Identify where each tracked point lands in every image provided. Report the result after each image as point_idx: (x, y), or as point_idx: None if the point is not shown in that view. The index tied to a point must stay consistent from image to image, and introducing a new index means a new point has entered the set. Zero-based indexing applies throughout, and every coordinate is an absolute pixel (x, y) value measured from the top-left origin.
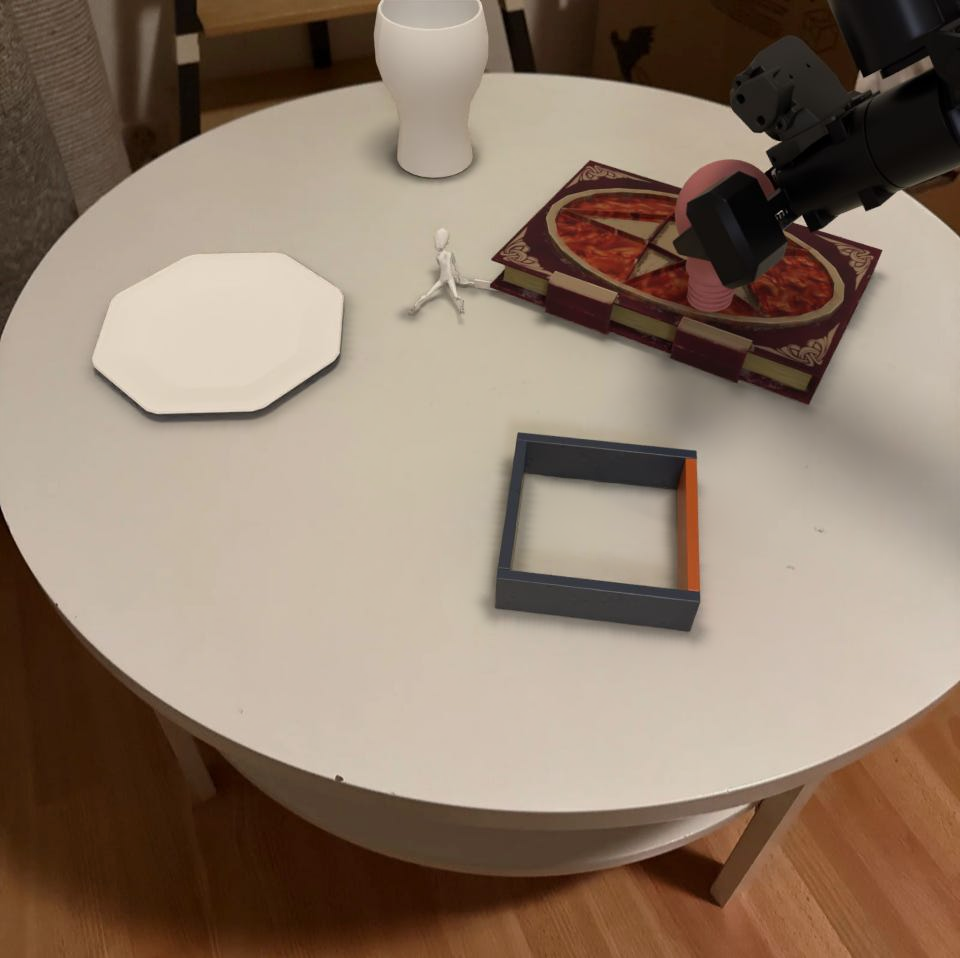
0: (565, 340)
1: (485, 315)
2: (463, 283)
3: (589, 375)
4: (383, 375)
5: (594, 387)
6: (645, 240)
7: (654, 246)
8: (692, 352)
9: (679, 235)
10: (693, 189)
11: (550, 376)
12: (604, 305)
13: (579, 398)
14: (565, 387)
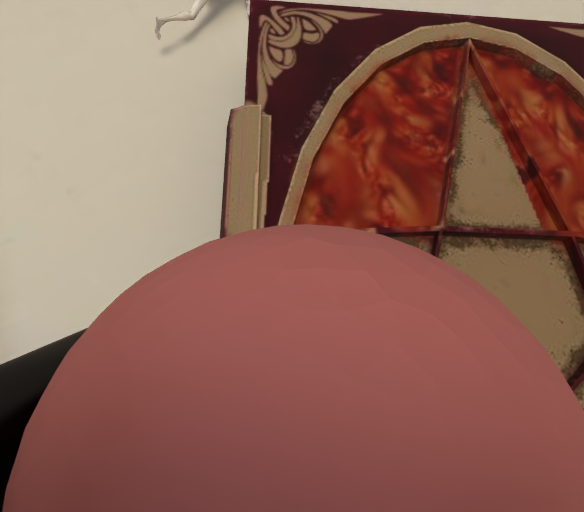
0: (202, 207)
1: (201, 73)
2: (248, 12)
3: (132, 279)
4: (4, 12)
5: (105, 300)
6: (441, 222)
7: (434, 248)
8: None
9: (59, 340)
10: (139, 295)
11: (102, 222)
12: (222, 230)
13: (67, 288)
14: (85, 255)
